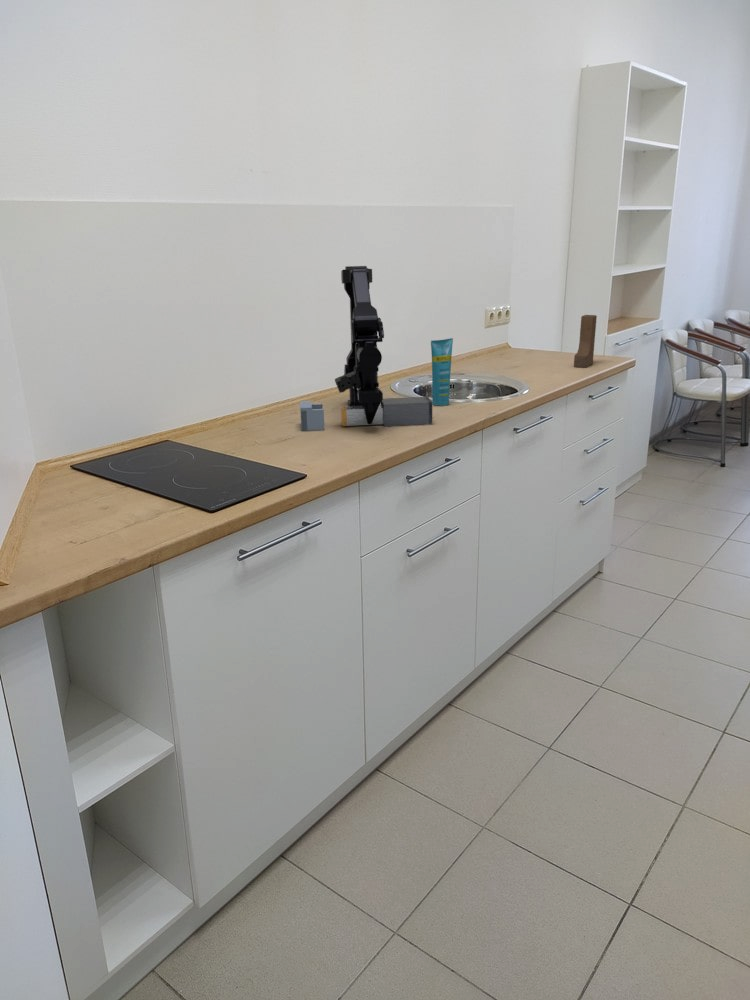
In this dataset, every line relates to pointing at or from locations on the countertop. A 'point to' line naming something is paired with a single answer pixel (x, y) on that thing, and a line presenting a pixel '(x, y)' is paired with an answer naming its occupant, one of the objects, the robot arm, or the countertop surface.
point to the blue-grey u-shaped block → (311, 416)
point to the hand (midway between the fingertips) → (367, 420)
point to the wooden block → (586, 342)
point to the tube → (441, 370)
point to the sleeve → (407, 411)
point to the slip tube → (359, 416)
